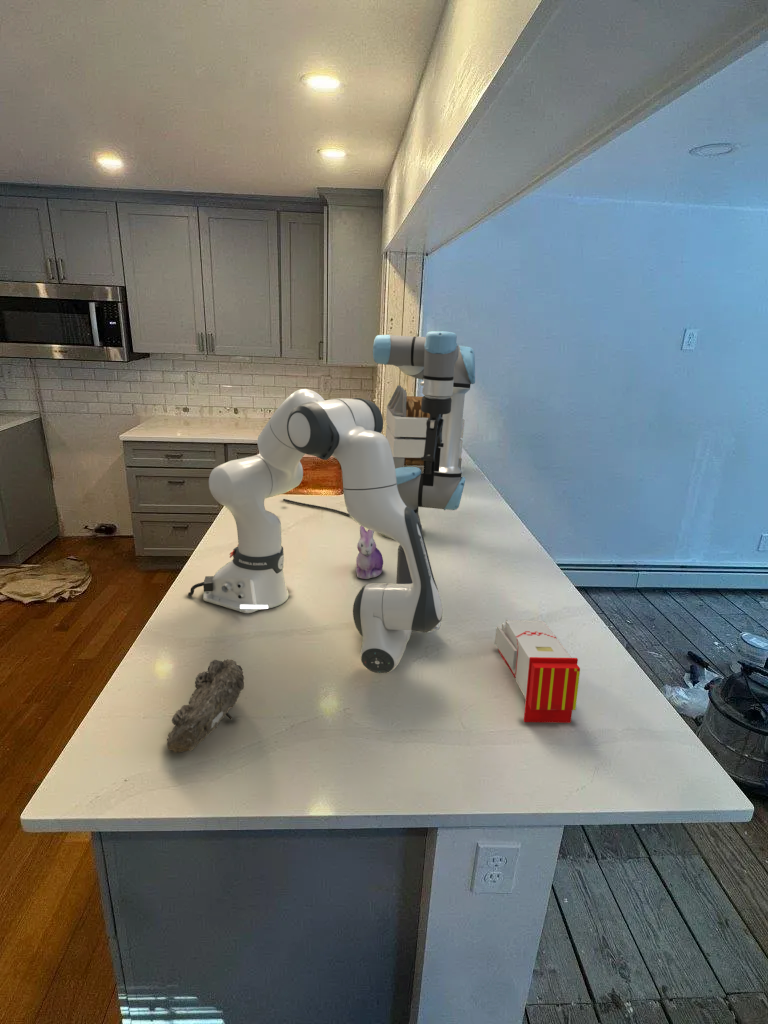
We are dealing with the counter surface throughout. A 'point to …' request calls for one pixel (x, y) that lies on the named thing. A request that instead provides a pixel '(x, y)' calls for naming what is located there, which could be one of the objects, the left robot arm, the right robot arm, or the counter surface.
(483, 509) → the counter surface
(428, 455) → the right robot arm
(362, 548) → the figurine
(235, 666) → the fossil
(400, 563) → the bottle
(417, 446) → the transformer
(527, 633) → the toy
